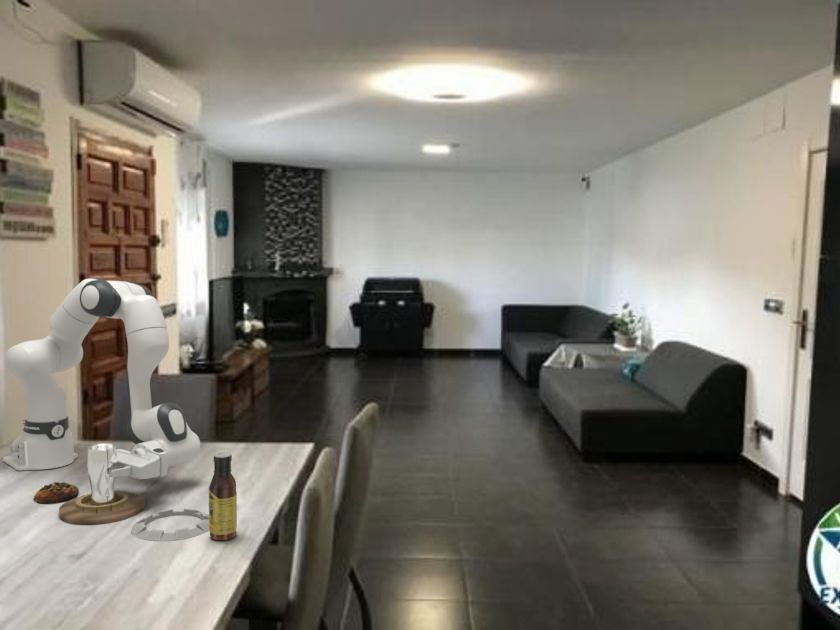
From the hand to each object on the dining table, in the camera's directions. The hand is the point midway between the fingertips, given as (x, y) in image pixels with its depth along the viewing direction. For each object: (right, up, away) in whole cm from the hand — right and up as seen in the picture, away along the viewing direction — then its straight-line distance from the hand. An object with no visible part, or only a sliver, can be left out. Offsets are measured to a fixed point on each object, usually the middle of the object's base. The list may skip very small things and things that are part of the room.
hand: (99, 470), depth 181 cm
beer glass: (0, -9, +2) cm, 9 cm away
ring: (+22, -12, -8) cm, 26 cm away
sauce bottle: (+35, -13, -14) cm, 40 cm away
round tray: (0, -10, +1) cm, 11 cm away
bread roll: (-16, -10, +11) cm, 22 cm away
